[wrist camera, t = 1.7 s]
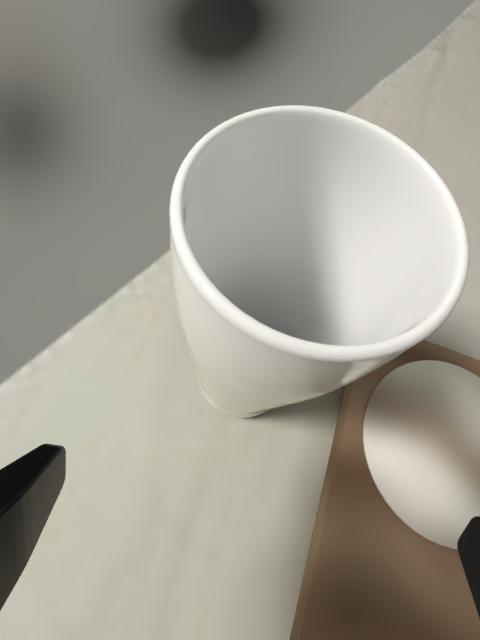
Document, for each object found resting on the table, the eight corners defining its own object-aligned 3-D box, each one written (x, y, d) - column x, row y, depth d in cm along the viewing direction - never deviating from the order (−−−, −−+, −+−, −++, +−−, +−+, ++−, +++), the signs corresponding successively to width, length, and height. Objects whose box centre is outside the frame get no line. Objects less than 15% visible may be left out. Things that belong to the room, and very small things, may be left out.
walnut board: (530, 815, 15) (561, 848, 14) (273, 715, 16) (280, 738, 14) (528, 388, 23) (548, 383, 22) (358, 326, 23) (367, 318, 22)
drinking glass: (312, 356, 22) (505, 181, 8) (263, 455, 20) (426, 438, 6) (221, 303, 23) (261, 62, 9) (161, 393, 20) (91, 245, 6)
